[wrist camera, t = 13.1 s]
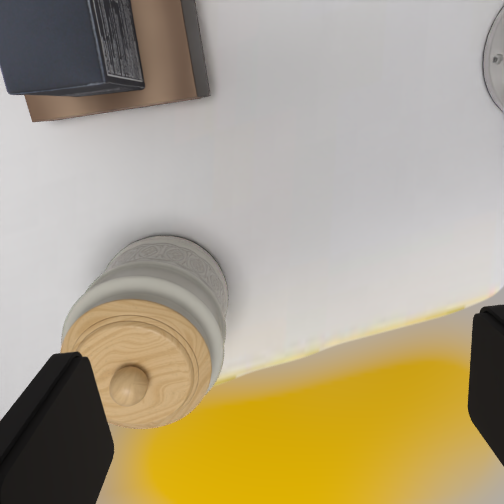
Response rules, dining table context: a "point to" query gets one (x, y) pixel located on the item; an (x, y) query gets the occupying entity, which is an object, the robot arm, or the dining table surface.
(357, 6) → the dining table surface
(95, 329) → the jar
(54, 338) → the dining table surface
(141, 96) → the dock
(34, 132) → the dining table surface
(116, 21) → the small box
